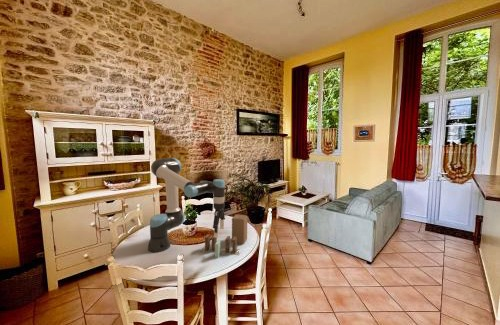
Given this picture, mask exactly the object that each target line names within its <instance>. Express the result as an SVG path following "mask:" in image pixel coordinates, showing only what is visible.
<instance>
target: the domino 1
mask: <svg viewBox="0 0 500 325" xmlns="http://www.w3.org/2000/svg"><path fill="white" fill-rule="evenodd" d="M204 246H205V251H208V250H209V249H210V247H211V234H206V235H205V236H204Z"/></svg>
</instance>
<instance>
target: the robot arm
mask: <svg viewBox="0 0 500 325" xmlns="http://www.w3.org/2000/svg"><path fill="white" fill-rule="evenodd" d="M150 170H151V172H152V174H153V175H154V176H156V177H157V178H159V179H161V178H162V179H163V180H164V183H165V197H166V210H165V213H157V214H155V215H153V216H152V217H151V218H150V219H149V233H150V234H149V235H150V237H149V238H150V239H149V242H148V244H147V249H148V251H149V252H151V253H159V252H164V251H166V250H168V249H169V248H170V247H171V241H170V238H169V235H168V234H169V233H168V231H170V230H172V229H174V228H176V227H179V226H181V225H182V224H183V223H184V222H185V217H186V216H185V213H184V211H183V210H182V209H181V208H180V207H179V206H180V205H179V204H180V203H179V191H178V190H179V189H180V190H182V191H183V193H184V195H185V196H186V197H187V198H193V197H197V196H200V195H203V194H206V193H208V194H209V193H210V194H211V193H212V194H213V199H212V200H213V201H212V202H213V207H212V208H213V209H214V210H215V211H214V214H213V224H212V229H213V236H214V237H217V239H218V238H219V236H220V235H219V231H220V230H219V229H221V230H224V229H225V220H226V216H225V215H226V214H225V210H224V209H225V204H226V203H225V199H226V197H225V196H226V195H225V190H226V187H225V186H226V185H225V180H224V179H220V178H216V179H213V181H208V180H200V182H198V183H194V182H193V181H191V180H189V179H187V178H186V177H184V176H182V175H180V174H179V172H181V170H182V164H181V161H180V160H179V159H177V158H176V157H168V158H167V157H166V158H158V159H155V160H154V161H153V162H152V163H151V165H150Z"/></svg>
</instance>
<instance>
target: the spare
mask: <svg viewBox="0 0 500 325" xmlns="http://www.w3.org/2000/svg"><path fill="white" fill-rule="evenodd" d="M220 248H221V240H217V242H216V243H215V253H214V255H215V256H214V258H215V259H219V258H220V255H221V254H220Z"/></svg>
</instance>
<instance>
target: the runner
mask: <svg viewBox="0 0 500 325" xmlns="http://www.w3.org/2000/svg"><path fill="white" fill-rule="evenodd" d="M238 250H240V248H237V251H238ZM237 251H236V253H235V254H232V248H231V247H230V251H229V253H225V247H220V255H232V256H240V254H241V252H240V253H239V251H238V252H237ZM200 252H201V253H212V254H215V252H212V246H210V249H209V250H208V251H205V245H204V246H203V247H202V248H201V250H200Z"/></svg>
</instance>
